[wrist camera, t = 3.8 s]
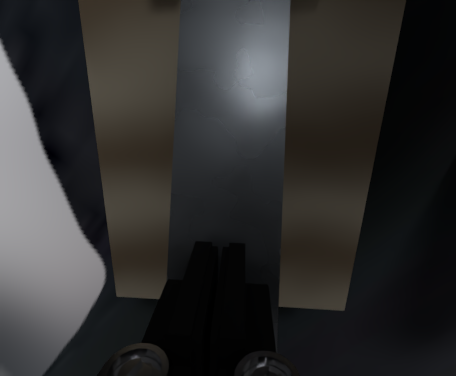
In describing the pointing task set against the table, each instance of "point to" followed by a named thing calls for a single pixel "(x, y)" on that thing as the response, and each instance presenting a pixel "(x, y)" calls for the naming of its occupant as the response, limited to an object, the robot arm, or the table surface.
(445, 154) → the table surface
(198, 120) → the bar
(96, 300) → the table surface
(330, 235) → the block
